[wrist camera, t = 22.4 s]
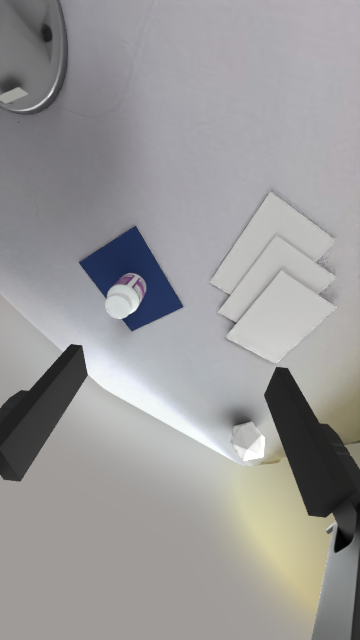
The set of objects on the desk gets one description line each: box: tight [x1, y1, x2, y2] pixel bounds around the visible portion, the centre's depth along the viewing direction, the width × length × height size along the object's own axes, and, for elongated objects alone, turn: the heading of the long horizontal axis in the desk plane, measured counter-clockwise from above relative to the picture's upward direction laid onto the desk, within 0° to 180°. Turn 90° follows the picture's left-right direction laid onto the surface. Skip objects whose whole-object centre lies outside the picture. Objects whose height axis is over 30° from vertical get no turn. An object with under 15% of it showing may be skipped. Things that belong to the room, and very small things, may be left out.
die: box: [230, 421, 265, 461], centre depth 55 cm, size 8×9×10 cm
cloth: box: [79, 226, 183, 331], centre depth 39 cm, size 17×13×1 cm
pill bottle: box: [105, 273, 146, 319], centre depth 35 cm, size 5×5×10 cm
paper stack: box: [209, 191, 337, 364], centre depth 38 cm, size 23×25×1 cm
